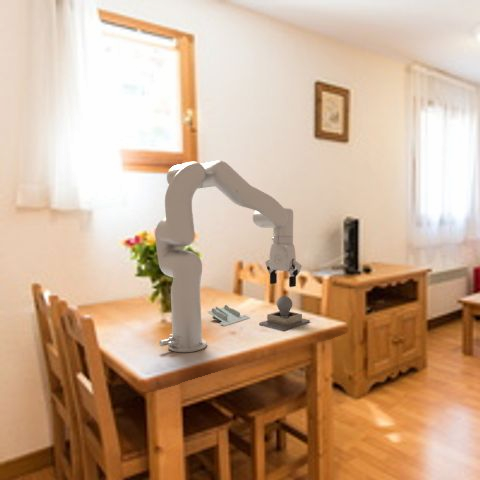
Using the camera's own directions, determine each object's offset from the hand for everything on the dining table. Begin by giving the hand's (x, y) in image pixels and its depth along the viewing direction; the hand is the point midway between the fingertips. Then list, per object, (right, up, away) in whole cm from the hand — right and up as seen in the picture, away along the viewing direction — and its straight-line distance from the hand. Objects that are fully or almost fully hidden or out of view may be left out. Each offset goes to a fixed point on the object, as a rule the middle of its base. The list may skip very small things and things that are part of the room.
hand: (282, 285), depth 158 cm
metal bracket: (-22, -16, +9) cm, 29 cm away
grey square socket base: (+1, -15, +2) cm, 15 cm away
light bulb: (+1, -15, +1) cm, 15 cm away
